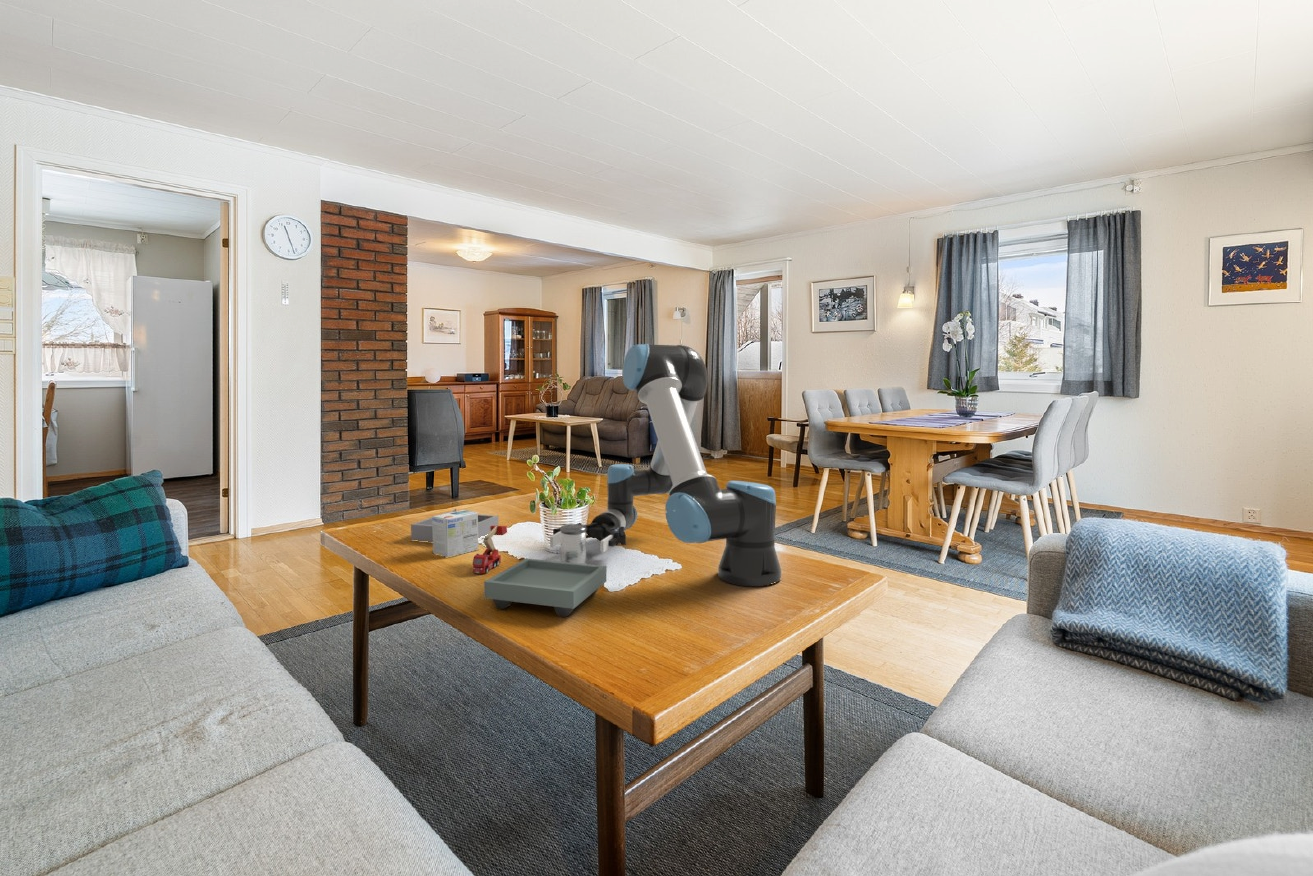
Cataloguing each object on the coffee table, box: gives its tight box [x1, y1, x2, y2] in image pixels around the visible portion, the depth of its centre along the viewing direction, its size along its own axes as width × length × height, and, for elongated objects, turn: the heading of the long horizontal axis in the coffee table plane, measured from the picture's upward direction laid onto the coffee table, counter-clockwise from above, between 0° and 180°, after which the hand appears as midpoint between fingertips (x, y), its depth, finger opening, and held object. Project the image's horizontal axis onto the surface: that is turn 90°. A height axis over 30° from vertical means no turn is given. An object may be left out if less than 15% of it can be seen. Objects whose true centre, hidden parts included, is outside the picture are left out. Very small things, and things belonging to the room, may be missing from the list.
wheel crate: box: [410, 511, 499, 542], centre depth 195 cm, size 18×18×5 cm
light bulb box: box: [431, 509, 479, 558], centre depth 178 cm, size 11×7×11 cm, turn 144°
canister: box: [560, 523, 587, 564], centre depth 158 cm, size 6×6×12 cm
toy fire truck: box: [472, 525, 508, 574], centre depth 164 cm, size 3×14×10 cm, turn 168°
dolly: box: [483, 558, 607, 618], centre depth 140 cm, size 20×18×6 cm
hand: (576, 544), depth 161 cm, fingers open, 13 cm apart
